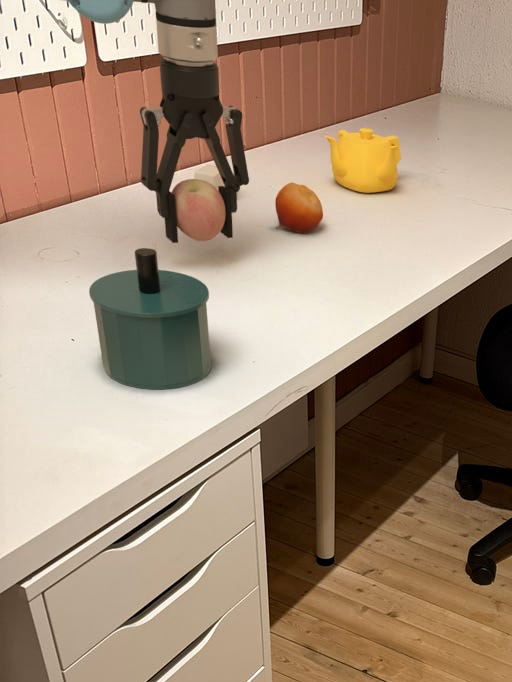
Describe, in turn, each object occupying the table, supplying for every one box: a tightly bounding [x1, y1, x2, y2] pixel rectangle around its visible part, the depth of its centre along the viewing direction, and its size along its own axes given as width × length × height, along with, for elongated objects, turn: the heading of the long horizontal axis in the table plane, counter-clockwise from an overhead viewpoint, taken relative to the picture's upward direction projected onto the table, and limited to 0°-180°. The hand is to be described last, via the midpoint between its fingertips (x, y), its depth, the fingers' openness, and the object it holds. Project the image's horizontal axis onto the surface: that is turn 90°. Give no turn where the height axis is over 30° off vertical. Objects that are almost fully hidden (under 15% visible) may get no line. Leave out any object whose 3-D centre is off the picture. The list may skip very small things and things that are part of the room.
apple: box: [171, 178, 226, 242], centre depth 138 cm, size 8×8×8 cm
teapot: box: [323, 127, 402, 194], centre depth 181 cm, size 14×13×10 cm
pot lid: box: [88, 247, 210, 318], centre depth 111 cm, size 13×13×6 cm
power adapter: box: [193, 164, 234, 191], centre depth 166 cm, size 11×5×6 cm, turn 168°
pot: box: [93, 302, 212, 390], centre depth 116 cm, size 13×13×9 cm
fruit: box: [274, 182, 324, 234], centre depth 160 cm, size 8×8×8 cm
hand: (199, 237), depth 140 cm, fingers closed on apple, 8 cm apart
